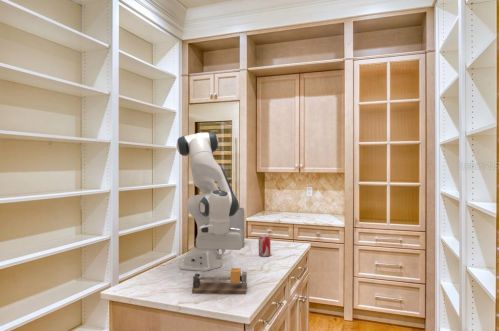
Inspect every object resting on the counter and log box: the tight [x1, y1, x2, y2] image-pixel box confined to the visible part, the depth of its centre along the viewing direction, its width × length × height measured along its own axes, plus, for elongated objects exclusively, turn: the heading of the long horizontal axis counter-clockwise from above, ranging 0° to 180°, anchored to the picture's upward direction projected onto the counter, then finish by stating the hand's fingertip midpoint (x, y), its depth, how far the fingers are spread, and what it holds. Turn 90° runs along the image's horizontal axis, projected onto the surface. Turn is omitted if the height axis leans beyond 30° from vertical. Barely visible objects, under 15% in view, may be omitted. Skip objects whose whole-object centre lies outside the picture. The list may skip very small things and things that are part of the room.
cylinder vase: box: [229, 207, 245, 248], centre depth 218 cm, size 12×12×25 cm
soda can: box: [258, 234, 271, 258], centre depth 196 cm, size 7×7×12 cm
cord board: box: [191, 271, 248, 295], centre depth 144 cm, size 23×9×8 cm, turn 86°
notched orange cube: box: [230, 267, 242, 283], centre depth 144 cm, size 4×4×5 cm
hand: (218, 258), depth 145 cm, fingers closed
